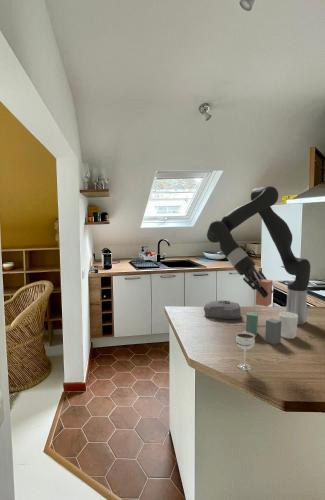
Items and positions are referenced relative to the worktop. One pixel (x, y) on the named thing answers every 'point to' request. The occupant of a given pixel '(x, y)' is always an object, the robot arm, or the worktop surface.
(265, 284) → the red pillar
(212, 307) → the grey rounded bag
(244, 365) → the wineglass
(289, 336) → the white cup
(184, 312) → the worktop surface
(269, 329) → the charcoal pillar
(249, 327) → the green pillar
